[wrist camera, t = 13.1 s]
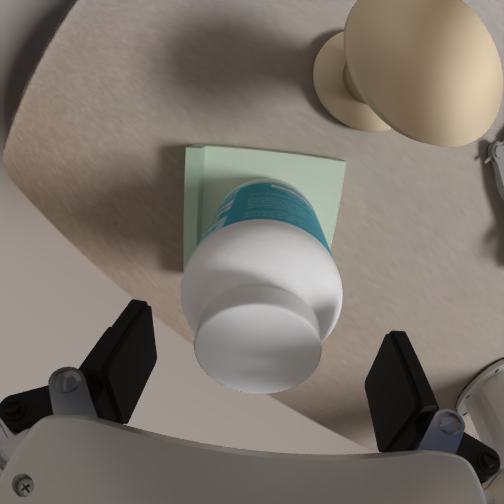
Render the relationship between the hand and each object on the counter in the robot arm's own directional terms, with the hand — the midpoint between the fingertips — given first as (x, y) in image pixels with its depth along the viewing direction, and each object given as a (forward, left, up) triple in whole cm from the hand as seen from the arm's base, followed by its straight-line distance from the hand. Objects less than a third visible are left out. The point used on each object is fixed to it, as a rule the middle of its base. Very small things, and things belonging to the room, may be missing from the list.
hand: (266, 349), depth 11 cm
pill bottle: (0, 0, -13) cm, 13 cm away
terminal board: (+1, 0, -14) cm, 14 cm away
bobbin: (-6, -12, -14) cm, 20 cm away
